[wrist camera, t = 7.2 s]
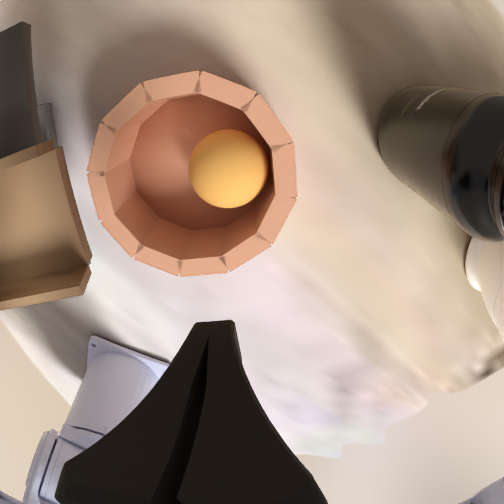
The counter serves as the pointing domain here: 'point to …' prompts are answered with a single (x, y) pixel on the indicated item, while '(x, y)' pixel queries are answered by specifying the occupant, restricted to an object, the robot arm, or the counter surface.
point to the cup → (186, 175)
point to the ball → (228, 168)
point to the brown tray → (34, 193)
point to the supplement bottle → (450, 153)
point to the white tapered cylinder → (488, 276)
